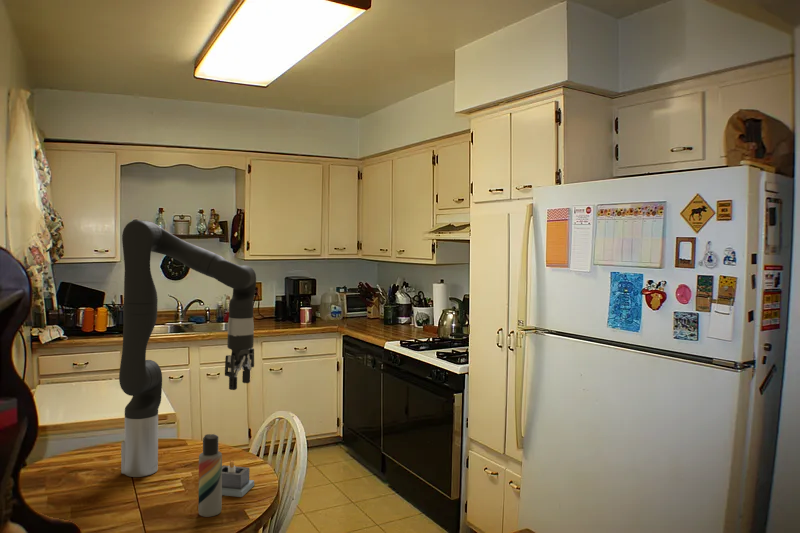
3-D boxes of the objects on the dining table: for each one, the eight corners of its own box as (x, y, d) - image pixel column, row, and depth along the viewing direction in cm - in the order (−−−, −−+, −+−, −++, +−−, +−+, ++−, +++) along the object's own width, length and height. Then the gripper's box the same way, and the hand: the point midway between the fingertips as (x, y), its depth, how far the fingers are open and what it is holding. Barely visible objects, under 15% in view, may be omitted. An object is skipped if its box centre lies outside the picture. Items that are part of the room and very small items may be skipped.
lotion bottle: (201, 507, 155) (202, 431, 154) (223, 507, 155) (224, 431, 154) (195, 517, 149) (196, 439, 148) (218, 517, 149) (219, 438, 149)
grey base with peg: (208, 493, 163) (208, 465, 163) (221, 482, 171) (221, 455, 171) (241, 497, 161) (242, 468, 161) (254, 485, 169) (254, 457, 169)
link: (213, 486, 164) (213, 472, 164) (223, 479, 170) (223, 465, 170) (240, 489, 163) (240, 475, 163) (249, 481, 168) (249, 467, 168)
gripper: (240, 328, 184) (239, 380, 185) (217, 335, 170) (216, 390, 171) (262, 329, 183) (261, 381, 183) (241, 336, 169) (240, 393, 169)
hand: (239, 386), depth 177 cm, fingers open, 8 cm apart
